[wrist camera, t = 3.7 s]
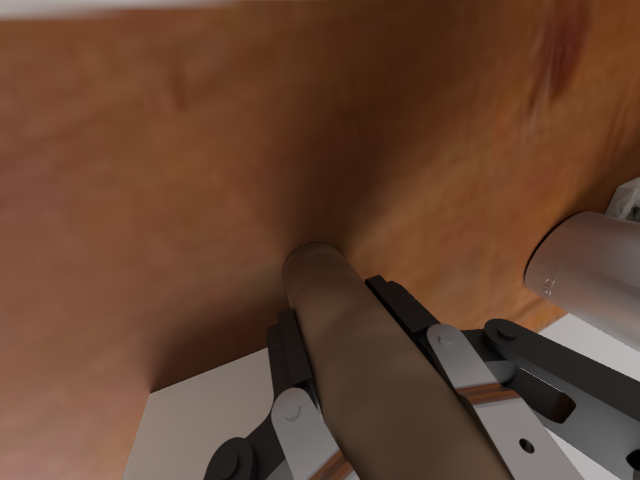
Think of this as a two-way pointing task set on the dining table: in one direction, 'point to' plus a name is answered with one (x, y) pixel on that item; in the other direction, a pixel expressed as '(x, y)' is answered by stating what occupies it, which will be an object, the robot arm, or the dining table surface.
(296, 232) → the dining table surface
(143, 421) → the open box
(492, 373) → the robot arm
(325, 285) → the peg
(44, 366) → the dining table surface
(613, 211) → the packaged product
